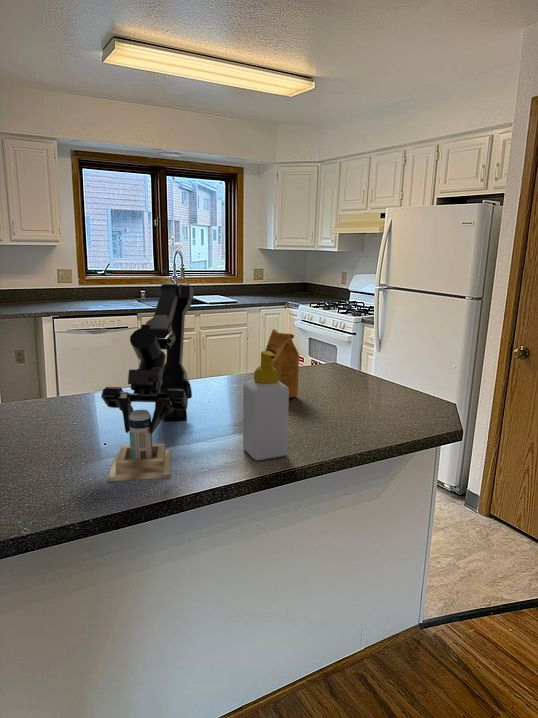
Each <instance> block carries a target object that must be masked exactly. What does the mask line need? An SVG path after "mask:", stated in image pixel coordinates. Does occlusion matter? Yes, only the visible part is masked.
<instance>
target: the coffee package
mask: <svg viewBox="0 0 538 718" xmlns="http://www.w3.org/2000/svg"><path fill="white" fill-rule="evenodd" d="M294 336H295V335H294V334H293V333H285V332H284V333H282V332H279V331H278V330H276V329H275V328H273V329H272V331H271V334H270V336H269V338H268V341H267V345H266V347H265V351H270V352H272V353H273V354H274V355H275V359H272V367H274V368H275V369H276V370H277V371H278V381H279V382H281V383H282V384H284V385H286V386H287V387H288V389H289V399H290V398H294V397H298V396H299V392H298V390H299V379H300V378H299V371H300V370H299V368H300V366H299V363H300V355H299V352H298V350H297V347H296V346H295V343H294V341H293V339H294V338H295V337H294Z"/></svg>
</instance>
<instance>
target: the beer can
mask: <svg viewBox="0 0 538 718" xmlns="http://www.w3.org/2000/svg"><path fill="white" fill-rule="evenodd" d="M151 422H152V415H151V414H150V411H148V410H147V409H135V410H133V411H132V412H131V413H130V416H129V445H130V449H131V460H140V459H153V449H152V444H153V434H150V426H151Z"/></svg>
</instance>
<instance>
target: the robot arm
mask: <svg viewBox="0 0 538 718" xmlns="http://www.w3.org/2000/svg"><path fill="white" fill-rule="evenodd" d="M194 296H195V295H194V288H193V287H192V286H190V284H189V283H181V282H180V283H178V282H164V283H161V285H160V294H159V298H158V302H157V305H156V307H155V311H154V313H153V317H152V318H150V319H148V320H147V321H145V324H143V323H142V324H141V327H140V328H138V329H135V330H134V332H133V333H131V335H130V336H129V341H130V345H131V346H132V349H133V351H134V353H135V355H136V357H137V359H139V360H140V361H139V366H138V368H137V369H129V370H128V376H127V384H128V385H130V390H131V391H133V393H131V392H129V391H124V390H123V388H122V386H106V387H105V388H103V390H102V393H101V399H102V401H104V403H105V405H106V406H107V407H108V408H113V409H119V410H120V411H121V412H122V417H123V424H124V432H125V433H126V434H129V433H130V431H129V416H130V413H131V412H132V411H134V408H133V406H132V405H131V404H132V403H133V402H134V403H155V405H154V411H153V415H152V417H151V426H150V434H152V435H153V433H155V431H156V429H157V427H159V425H160V424H161V422H162V421H164V422H175V421H187V420H188V415H187V414H188V413H187V409H188V404H189V399H191V398H193V392H192V391H193V390H192V386H191V383H190V380H189V378H188V373H187V371H186V369H185V367H184V365H183V358H184V357H183V355H184V354H183V353H184V337H185V335H184V334H185V318H186V314H187V313H188V311H189V310H190V308H191V306H192V300H193V299H194ZM163 350H166V354H165V352H164V351H163Z"/></svg>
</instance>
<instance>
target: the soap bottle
mask: <svg viewBox="0 0 538 718" xmlns="http://www.w3.org/2000/svg"><path fill="white" fill-rule="evenodd" d="M272 359H275V355H274V354H273V353H272V352H270V351H266V350H264V351H260V366H258V367H256V368H255V371H254V373H253V379H249V380H248V381H246V382H244V383H243V388H242V389H243V397H242V398H243V402H242V403H243V405H242V406H243V408H242V409H243V410H242V411H243V414H242V415H243V416H242V417H243V419H242V422H243V423H242V426H243V427H242V428H243V429H242V431H243V432H242V436H243V437H242V438H243V439H242V448H243V450H244V451H245V452H246V453H247V454H248V455H250V458H252V459H253V460H254V461H264V460H269V459H270V460H271V459H277V458H283V457H285V456H287V455H288V437H289V436H288V435H289V433H288V432H289V404H290V403H289V399H290V398H289V389H288V387H287V386H286V385H284V384H282V383H281V382H279V381H278V371H277V370H276V369H275V368H274V367H272Z"/></svg>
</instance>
